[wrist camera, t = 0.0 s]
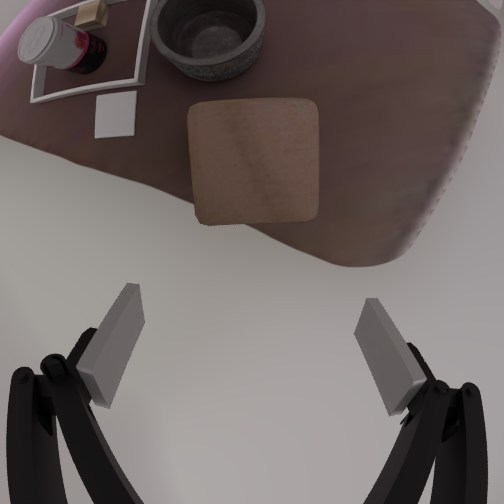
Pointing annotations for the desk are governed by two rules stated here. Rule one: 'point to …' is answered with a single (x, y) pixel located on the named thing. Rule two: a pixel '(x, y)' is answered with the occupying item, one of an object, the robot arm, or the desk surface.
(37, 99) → the bin
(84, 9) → the beech block
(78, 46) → the beverage can
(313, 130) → the wooden block
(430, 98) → the desk surface
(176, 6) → the planter
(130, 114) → the pad
